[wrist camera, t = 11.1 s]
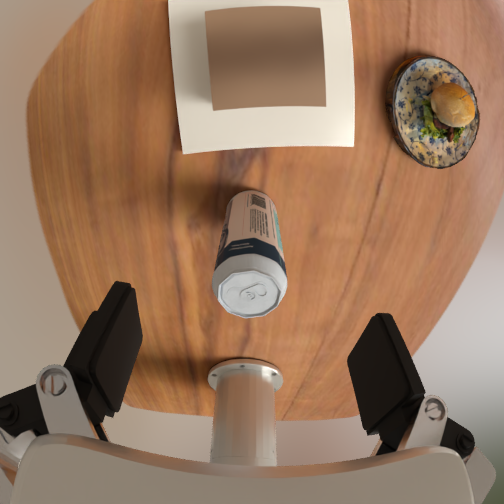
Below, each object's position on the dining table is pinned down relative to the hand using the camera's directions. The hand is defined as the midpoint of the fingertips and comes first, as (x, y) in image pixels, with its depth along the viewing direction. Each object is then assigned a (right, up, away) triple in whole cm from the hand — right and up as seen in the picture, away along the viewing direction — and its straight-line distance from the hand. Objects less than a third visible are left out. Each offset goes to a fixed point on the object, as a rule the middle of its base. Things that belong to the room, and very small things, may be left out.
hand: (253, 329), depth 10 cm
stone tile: (+1, +19, +9) cm, 21 cm away
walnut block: (+1, +18, +8) cm, 20 cm away
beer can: (0, +7, +17) cm, 18 cm away
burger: (+18, +17, +10) cm, 27 cm away
